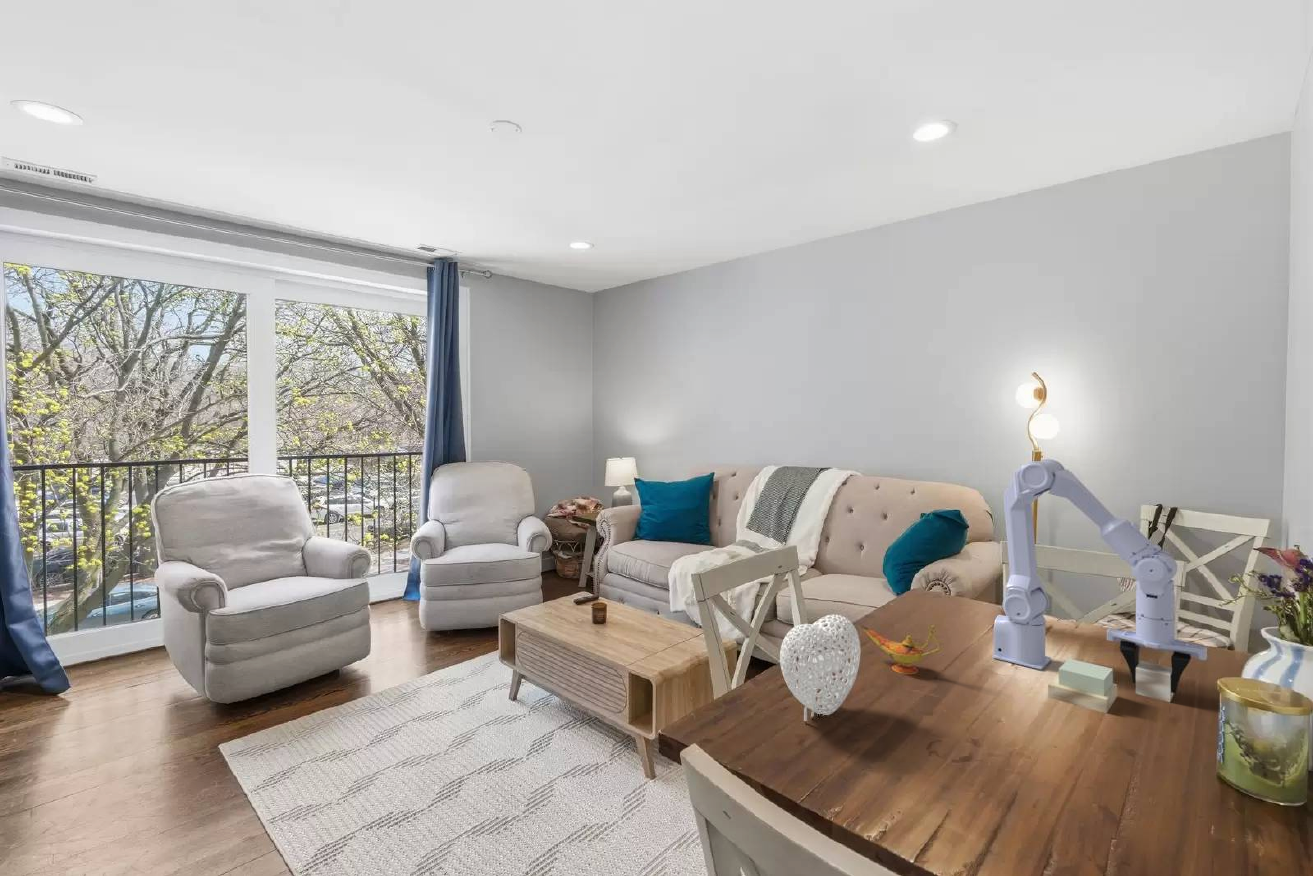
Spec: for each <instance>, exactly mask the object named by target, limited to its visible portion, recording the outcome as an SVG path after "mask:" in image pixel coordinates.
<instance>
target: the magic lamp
mask: <svg viewBox="0 0 1313 876" xmlns="http://www.w3.org/2000/svg"><path fill="white" fill-rule="evenodd" d="M930 627H931V628H930ZM858 628H859V629H861V630H862V631H864V632H865V633H866V635H867V636H868V637H869V638H871V640H872V642H874V643H875V644H876V646H877V647H879V648H880V649H881V650H882V651H884V652H885V653H886V654H887V655H888V656H890V658H892V659H893V660H895V661H897V662H898V663H897V664H893V665H892V666H891V669H892V670H893V671H895V672H896V673H899V674H903V675H915V674H917V673H918V672H919V670H918V668H916V667H915V666H913V665H912V664H914V663H917V662H919V661H920V662H921V663H922V664H923V665H928V664H929V660H927V663H925V662H924V661H923V657H924V656H926V655H930V654H933V653H935V652H937V651H939V649H940V648H941V644H940V641H939V640H938V639H937V638H936V636H935V635H934V634H936V633H937V629H936V625H929V626H928V630H929V634H928V637H927V639H926V642H925V643H924V645H922V646H919V645H918V644H916V643H915V640H914V639H913V638H912V637H911V636H910V635H907V636H906V639H904V640H903V641H902V642H897V641H893V640H890V639H887V638H885V637H883V636H882V635H880V634H878V633H877V632H875V631H874V630H872V629H871V628H869V627H867V626H864V625H859V626H858ZM933 630H934V631H933ZM931 637H933V639H934V640H935V642H936V643H937V648H936V649H934V650H931V651H929V652H924V653H923V649H925V648H926V647H927V646H928V644H929V642H930V640H931Z"/></svg>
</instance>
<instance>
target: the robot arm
mask: <svg viewBox="0 0 1313 876" xmlns="http://www.w3.org/2000/svg"><path fill="white" fill-rule="evenodd" d="M1013 473H1014V474H1013V478H1012V480H1011V481H1010V483H1009V485H1008V486H1007V488H1006V490H1005V491H1004V493H1003V507H1004V508H1003V510H1004V517H1005V521H1004V522H1005V530H1006V543H1007V555H1008V556H1007V557H1008V566H1009V577H1008V581H1007V583H1006V584H1005V585H1006V586H1005V596H1004V598H1003V600H1002V609H1003V612H1004V613H1005V615H1003V614H998V615H997V616H996V618H995V620H994V625H993V655H992V658H993V659H996V660H1000V661H1004V662H1007V663H1013V664H1017V665H1021V666H1025V667H1029V668H1033V669H1036V670H1043V669H1044V668H1045V667H1046V666H1047V665H1048V664H1049V663H1050V662H1051V661H1052V660H1053V659H1052V657H1051V656H1046V618H1045V617H1044V613H1045V612H1046V611H1047V610H1048V608H1049V606H1050V600H1049V597H1048V595H1047V593H1046V592H1045V590H1044V587H1043V581H1042V580H1041V578H1040V577H1039V575H1038V563H1037V562H1038V561H1037V552H1036V541H1035V530H1034V529H1035V527H1034V518H1033V505H1032V504H1033V502H1035V501H1036V500H1037V499H1038V498H1041V496H1042V495H1043V494H1044V493H1046V492H1047V494H1048V495H1052V496H1056V497H1060V498H1065V499H1067V500H1068V501H1069V502H1071V503H1072V504H1073V505H1074V506H1075V507H1076V508H1077V509H1079V511H1081V512H1082V513H1083V514H1084V515H1086V516H1087V518H1088V519H1090V520H1091V521H1092V522H1093V523H1094V524H1095V525H1097V526H1098V527H1099V528H1100V539H1102V540H1103V541H1104V542H1105V543H1106V544H1107V545H1108V546H1109V547H1110V548H1111V550H1113V551H1114V553H1116V554H1117V555H1118V556H1119V557H1120V558H1121V559H1122V560H1123V561H1124V562H1125V563H1126V564H1128V565H1130V566H1131V572H1132V575H1133V576H1134V578H1135V579H1136V589H1135V631H1132V630H1131V631H1130V630H1129V631H1128V630H1121V629H1114V628H1108V629H1107V631H1106V640H1107V641H1109V642H1119V644H1120V645H1119V646H1118V647H1119V651H1120V653H1121V654H1122V655H1123V657H1124V660H1125V661H1126V664H1127V666H1128V669H1129V671H1130V675H1131V679H1132V683H1133V684H1134V685H1136V667H1137V665H1138V664H1139V662H1140V661H1139V660H1140V647H1143V648H1148V649H1153V650H1158V651H1163V652H1167V653H1173V654H1172V655H1171V659H1170V663H1171V667H1172V681H1171V692H1172V693H1174V694H1177V692H1178V687H1179V682H1180V679H1181V676H1182V674H1183V672H1184V671H1185V669H1186V668H1187V666H1188V665H1189V663H1190V661H1192V660H1191V659H1192V657H1193V658H1197V659H1198V660H1201V661H1207V659H1208V647H1207V646H1203V645H1197V644H1194V643H1190V642H1186V641H1184V640H1179V639H1176V638H1175V637H1176V635H1175V634H1176V633H1175V632H1176V625H1175V624H1176V620H1175V618H1176V595H1175V583H1174V580H1173V578H1174V577H1175V576H1176V574H1177V572H1178V563H1177V561H1176V560H1175V559H1174V558H1173V556H1172V554H1171V553H1169V552H1167V551H1165V550H1162V547H1161V546H1160V545H1159V544H1154V543H1152V542H1151V540H1150V539H1148V538H1147V537H1146V535H1144V534H1143V532H1141V531H1140V529H1141V526H1140V525H1139V524H1138V523H1137V522H1133V523H1131V522H1130V521H1129V520H1128V519H1123V518H1117V517H1115V516H1114V515H1113V514H1112V513H1111V512H1110V511H1109V509H1108V508H1107V507H1106V506H1105V505H1104V504H1103V503H1102V502H1101V501H1100V500H1099V499H1098V497H1096V496H1095V495H1094V494H1093V493H1092V491H1090V490H1089V489H1088V488H1087V487H1086V486H1085V485H1084V483H1082V481H1080V480H1079V478H1078V477H1077V476H1076V475H1075V474H1074V473H1073V472H1072V471H1070V470H1069V469H1066V468H1065V467H1064V465H1063V464H1061V462H1060V461H1058V460H1055V459H1049V458H1047V459H1042V460H1039V461H1037V460H1031V461H1029V462H1026V463H1024V464H1023V465H1022V466H1020V467H1019V468H1018V469H1016V470H1015V471H1014V472H1013Z"/></svg>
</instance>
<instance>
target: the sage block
mask: <svg viewBox="0 0 1313 876" xmlns="http://www.w3.org/2000/svg"><path fill="white" fill-rule="evenodd" d="M1058 673H1059V685H1063V686H1067V687H1070V688H1074V689H1078V690H1082V691H1086V692H1089V693H1093V694H1097V695H1101V696H1105V694H1106V693H1107V692H1108V690H1109V689H1110V688H1111V686H1112V685H1113V684H1114V670H1113V668H1111V667H1106V666H1102V665H1098V664H1093V663H1090V662H1086V661H1081V660H1076V659H1072V658H1068V659H1067V660H1066V661H1065V662H1064V663H1063V664H1062V665H1061V666H1059V668H1058Z"/></svg>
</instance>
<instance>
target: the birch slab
mask: <svg viewBox="0 0 1313 876" xmlns="http://www.w3.org/2000/svg"><path fill="white" fill-rule="evenodd" d="M1117 687H1118V685H1117V684H1116V683H1113V685H1112V686H1111V688H1110V689H1109V690H1108V692H1107V693H1106V694H1105V696H1101V695H1097V694H1093V693H1089V692H1086V691H1082V690H1078V689H1074V688H1070V687H1067V686H1063V685H1059V672H1058V673H1057V674H1056V675H1055V677H1054V678H1052V680H1050V682H1049V683H1048V684H1047V697H1048V698H1049V699H1053V700H1057V701H1061V702H1064V703H1068V704H1071V705H1074V706H1079V707H1081V708H1086V709H1089V710H1093V711H1097V712H1100V713H1104V714H1108V711H1110V709H1111V707H1112V705H1113V704H1114V702H1115V700H1116V699H1117V697H1118V696H1117V695H1118V693H1117V692H1118V691H1117V690H1118V688H1117Z"/></svg>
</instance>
